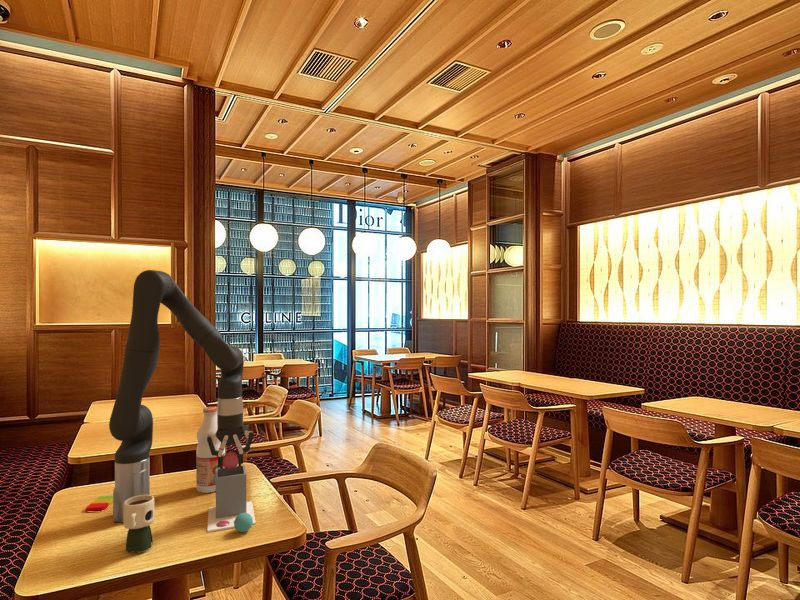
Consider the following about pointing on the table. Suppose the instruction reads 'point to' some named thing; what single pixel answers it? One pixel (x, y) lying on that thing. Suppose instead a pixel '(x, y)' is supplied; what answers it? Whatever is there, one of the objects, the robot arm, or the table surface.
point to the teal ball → (243, 522)
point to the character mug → (139, 522)
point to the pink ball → (230, 460)
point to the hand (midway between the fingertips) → (230, 466)
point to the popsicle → (100, 503)
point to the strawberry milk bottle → (207, 453)
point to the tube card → (229, 499)
